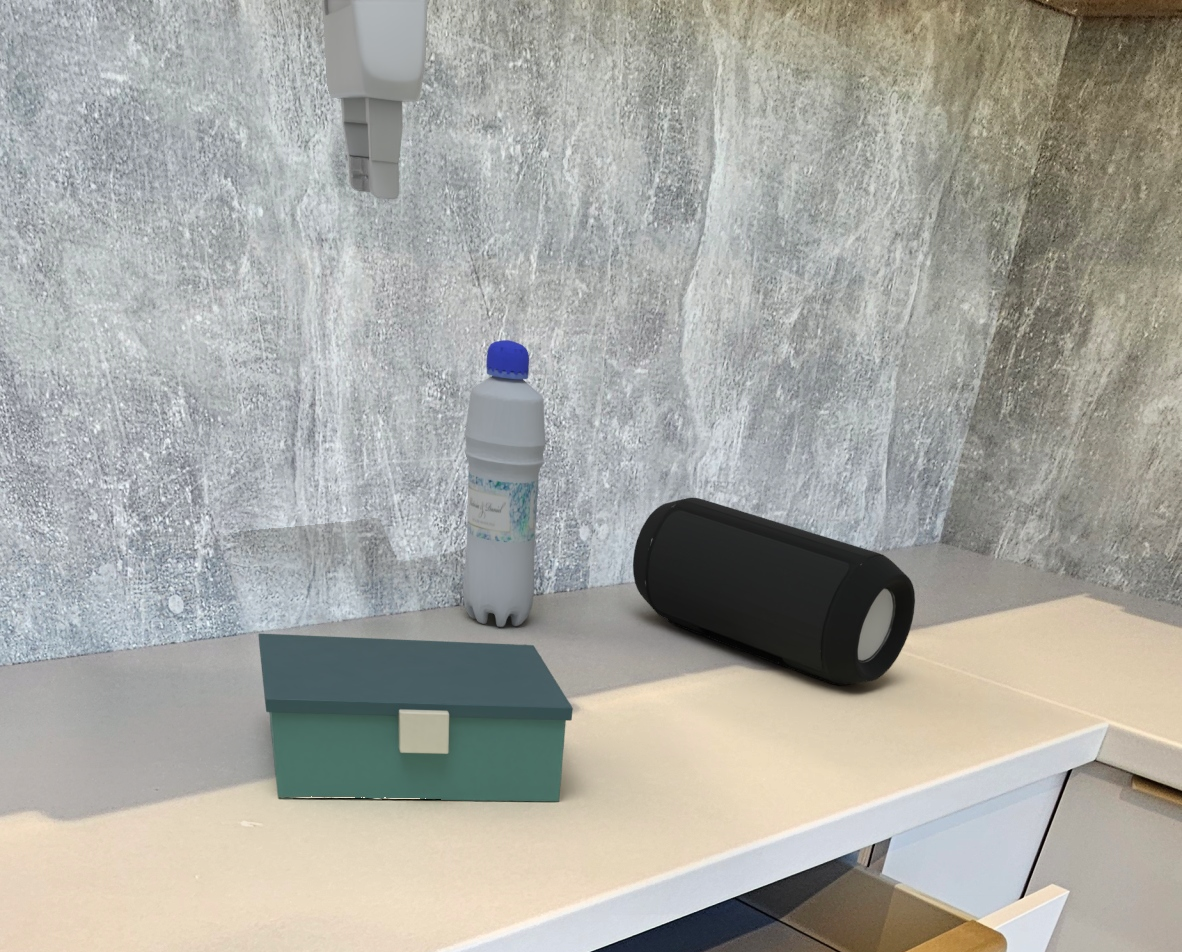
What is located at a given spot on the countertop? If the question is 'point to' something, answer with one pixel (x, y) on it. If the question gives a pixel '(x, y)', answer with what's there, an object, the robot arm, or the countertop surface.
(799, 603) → the portable speaker
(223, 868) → the countertop surface
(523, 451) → the bottle
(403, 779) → the lunchbox
